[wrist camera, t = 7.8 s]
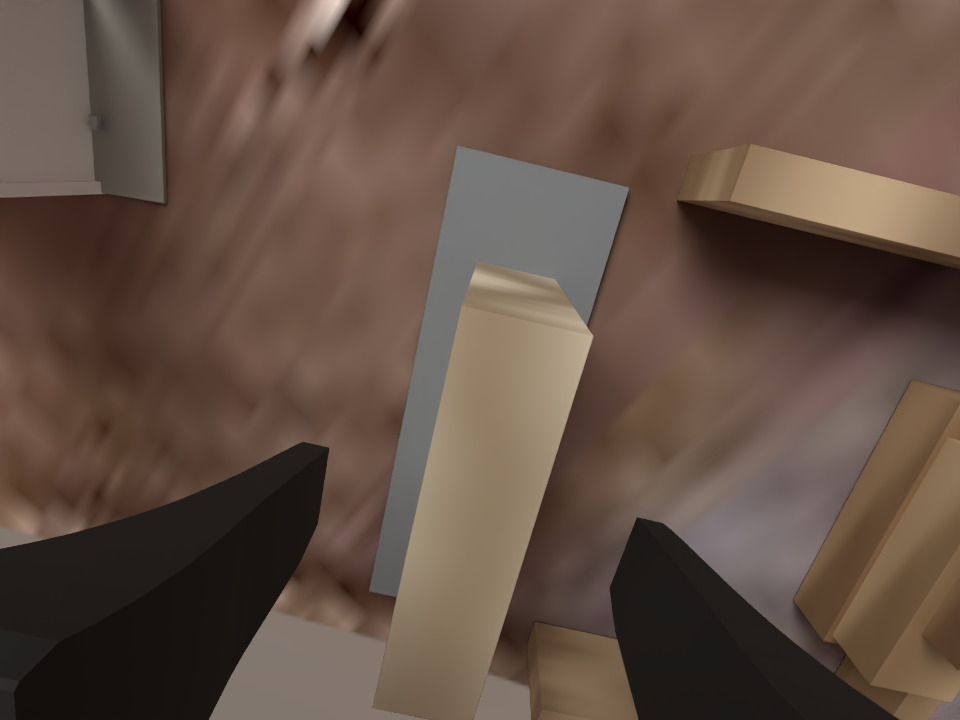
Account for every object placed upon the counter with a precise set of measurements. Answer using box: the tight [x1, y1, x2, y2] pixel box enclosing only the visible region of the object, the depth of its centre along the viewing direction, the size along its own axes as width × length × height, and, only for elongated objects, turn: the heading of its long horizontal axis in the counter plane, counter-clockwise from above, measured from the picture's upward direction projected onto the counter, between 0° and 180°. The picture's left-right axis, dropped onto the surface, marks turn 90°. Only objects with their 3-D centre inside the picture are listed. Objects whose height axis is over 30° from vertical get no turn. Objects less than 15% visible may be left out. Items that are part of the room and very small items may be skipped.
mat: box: [369, 146, 629, 597], centre depth 17 cm, size 5×16×1 cm, turn 167°
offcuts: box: [794, 380, 960, 702], centre depth 15 cm, size 3×9×5 cm, turn 167°
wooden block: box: [373, 261, 593, 720], centre depth 13 cm, size 2×10×6 cm, turn 167°
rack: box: [527, 144, 960, 720], centre depth 16 cm, size 13×18×4 cm
